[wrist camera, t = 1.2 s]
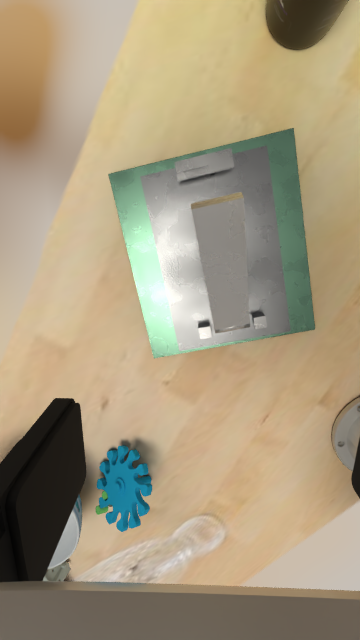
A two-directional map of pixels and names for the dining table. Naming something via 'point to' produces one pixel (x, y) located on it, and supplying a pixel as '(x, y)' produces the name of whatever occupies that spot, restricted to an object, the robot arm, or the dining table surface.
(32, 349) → the dining table surface
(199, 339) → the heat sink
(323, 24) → the supplement bottle
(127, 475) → the gear
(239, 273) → the steel strap
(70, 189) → the dining table surface
